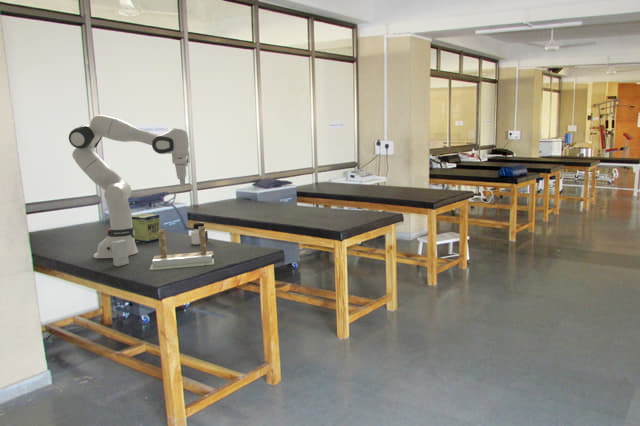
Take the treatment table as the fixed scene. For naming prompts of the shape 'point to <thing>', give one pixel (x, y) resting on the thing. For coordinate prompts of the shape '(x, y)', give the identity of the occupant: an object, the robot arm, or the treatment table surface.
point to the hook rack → (202, 252)
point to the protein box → (146, 227)
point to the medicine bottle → (197, 233)
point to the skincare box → (120, 252)
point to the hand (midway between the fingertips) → (182, 186)
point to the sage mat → (181, 265)
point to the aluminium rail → (181, 260)
